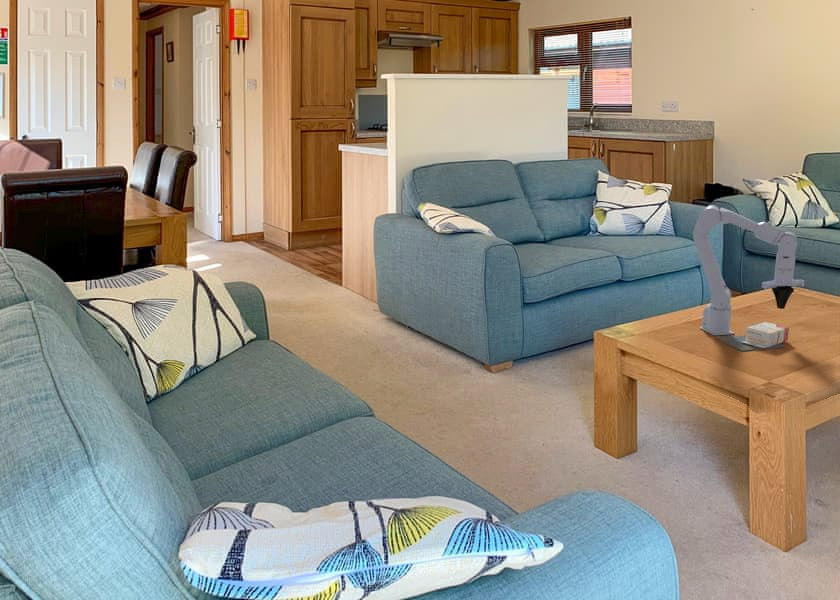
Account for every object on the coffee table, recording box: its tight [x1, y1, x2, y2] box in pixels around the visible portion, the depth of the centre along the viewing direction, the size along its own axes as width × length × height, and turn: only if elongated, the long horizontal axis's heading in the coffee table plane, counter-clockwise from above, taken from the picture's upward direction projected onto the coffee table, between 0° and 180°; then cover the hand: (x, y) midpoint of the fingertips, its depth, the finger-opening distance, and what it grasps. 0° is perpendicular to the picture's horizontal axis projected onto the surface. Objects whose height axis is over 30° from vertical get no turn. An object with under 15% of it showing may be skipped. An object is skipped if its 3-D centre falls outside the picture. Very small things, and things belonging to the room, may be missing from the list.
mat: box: [716, 334, 785, 352], centre depth 255 cm, size 14×16×1 cm
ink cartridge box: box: [741, 321, 790, 348], centre depth 255 cm, size 9×5×15 cm
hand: (780, 308), depth 258 cm, fingers closed
